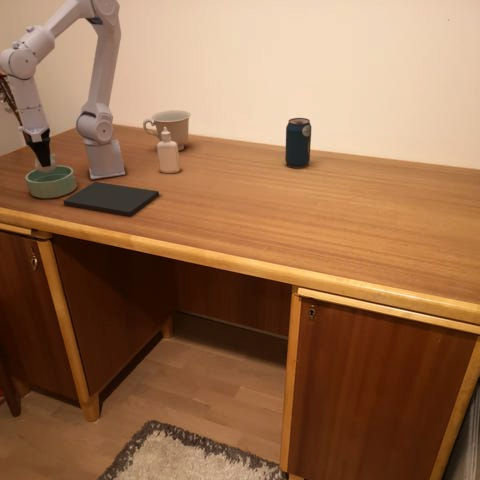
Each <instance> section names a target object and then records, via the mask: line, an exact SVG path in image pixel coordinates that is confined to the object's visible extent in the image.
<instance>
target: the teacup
mask: <svg viewBox="0 0 480 480" xmlns="http://www.w3.org/2000/svg"><path fill="white" fill-rule="evenodd" d="M191 116H192V115H191V113H190V112H189V111H186V110H178V109H177V110H165V111H164V110H163V111H160V112H156V113H154V114H153V115H152V116H151V118H145V119H144V120H143V122H142V128H143V130H144V132H146V133H147V134H148V135H151V136H155V137H156V138H157V139H158V140H159V142H161V141H162V137H161V133H162V132H163V127H166V129H167V131H168V132H170V137H171V141H174V142H176V143H177V146H178V152H179V151H182V150H184V149H185V146H184V145H185V144H186V143H187V142H188V140H189V128H190V127H189V125H190V124H189V123H190V118H191ZM148 123H150V125H151V127H154V126H155V129H156V132H154V131H151V130H149V128H148V127H147V124H148Z"/></svg>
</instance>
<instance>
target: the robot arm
mask: <svg viewBox="0 0 480 480" xmlns="http://www.w3.org/2000/svg"><path fill="white" fill-rule="evenodd" d="M120 7H121V5H120V3H119V2H118V0H65V1H64V3H63V4H62V5H60V7H59V8H58V9H57V10H56V11H55V12H54V13H53V14H52V16H51V17H49V19H48V20H47V21H46V22H45V23H44V25H39V24H34V25H28V26H27V27H26V28H25V31H27V32H26V33H24V35H22V37H20V38H19V39H18V40H13V42H12V43H11V45H12V48H6V49H4V50H3V51H1V53H0V70H1V72H2V73H3V74H5V75H6V76H7V77H6V78H7V80H8V83H9V86H10V90H11V93H12V96H13V98H14V103H15V106H16V109H17V112H18V115H19V118H20V122H21V125H20V126H18V128H17V129H18V132H24V133H26V135H27V136H28V138H25V143H26V145H27V146H28V147H29V148H30V149H31V150H32V152H33V153H34V156H35V155H36V156H35V158H36V159H37V158H38V160H39V162H40V164H41V166H42V167H48V166H51V160H50V154H51V147H50V144H51V136H50V134H51V129H50V124H49V123H48V120H47V118H46V113H45V110H44V107H43V104H42V100H41V97H40V93H39V89H38V86H37V82H36V79H35V74H36V71H37V66H38V65H39V64H40V63H42V61H43V60H44V59H45V58H46V57H47V56H48V55H49V54H51V52H52V51H54V49H55V48H56V39H57V38H58V37H60V36H61V35H62V34H63V33H64V32H65V31H66V30H68V28H70V27H71V26H72V25H73V24H75V23H76V22H77V21H78V20H80V19H85V20H86V21H87V22H88V24H90V25H91V27H92V29H93V30H94V32H95V34H96V35H97V41H96V46H95V51H94V59H93V64H92V71H91V78H90V84H89V90H88V97H87V101H86V102H85V103H84V104H83V105H82V106H81V108H80V112H79V115H78V116H77V118H76V119H75V129H76V131H77V133H78V135H80V136H81V137H82V139H83V143H84V149H85V153H86V156H87V160H88V166H89V169H88V171H89V177H90V179H91V180H100V179H105V178H106V179H107V178H113V177H119V176H125V175H126V171H125V162H124V159H123V156H122V155H123V154H122V151H121V146H120V142H119V139H118V138H115V139H113V138H114V134H115V133H114V132H115V131H114V126H113V120H114V116H113V113H112V111H111V109H110V102H111V96H112V91H113V85H114V79H115V74H116V68H117V62H118V56H119V51H120V46H121V45H120V44H121V40H122V28H121V24H120V18H119V17H120V16H119V14H120Z"/></svg>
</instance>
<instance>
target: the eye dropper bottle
mask: <svg viewBox="0 0 480 480" xmlns="http://www.w3.org/2000/svg"><path fill="white" fill-rule="evenodd" d="M161 137H162V141H161V142H160V141H159V142H158V143H157V144H156V151H157V157H158V164H159V171H160V172H161V173H165V174H176V173H179V172H180V170H181V162H180V154H179V151H178V146H177V143H176V142H174V141H171V137H170V132H168V131H167V129H166V127H163V132H162V133H161Z"/></svg>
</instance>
